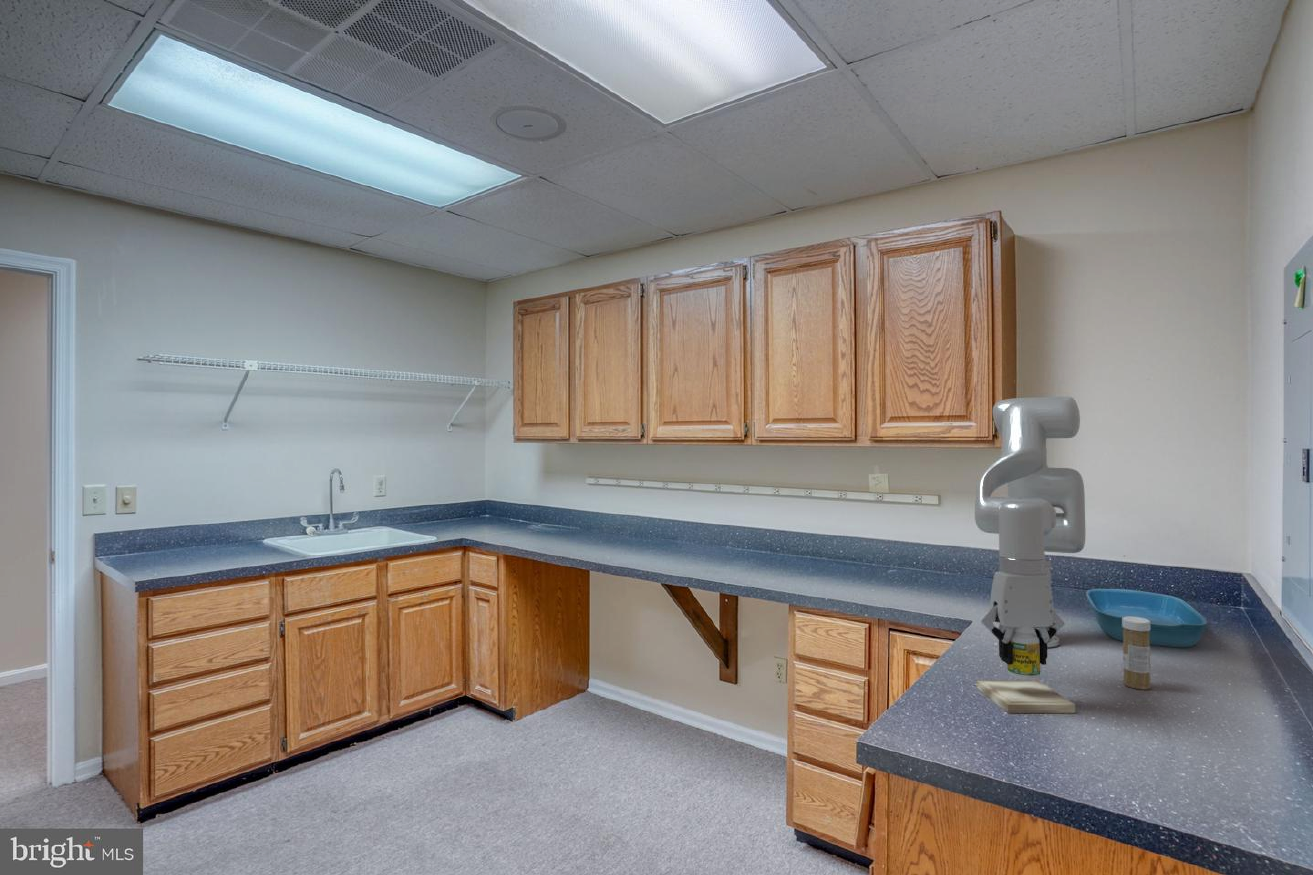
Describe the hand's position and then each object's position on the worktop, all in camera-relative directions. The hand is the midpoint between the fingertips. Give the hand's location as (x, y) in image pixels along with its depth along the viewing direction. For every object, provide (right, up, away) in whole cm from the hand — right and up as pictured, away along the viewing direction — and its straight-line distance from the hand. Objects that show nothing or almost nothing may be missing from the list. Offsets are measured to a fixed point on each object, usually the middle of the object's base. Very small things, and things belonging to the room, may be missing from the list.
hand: (1023, 661), depth 123 cm
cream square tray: (0, -7, 0) cm, 7 cm away
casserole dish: (+56, -8, +44) cm, 72 cm away
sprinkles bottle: (+26, -7, +6) cm, 28 cm away
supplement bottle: (0, -3, 0) cm, 3 cm away
